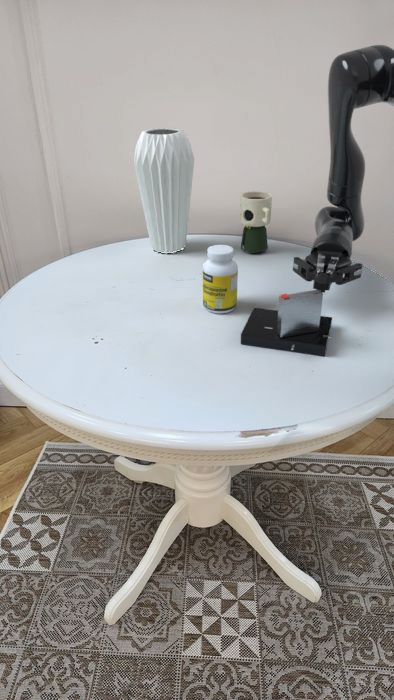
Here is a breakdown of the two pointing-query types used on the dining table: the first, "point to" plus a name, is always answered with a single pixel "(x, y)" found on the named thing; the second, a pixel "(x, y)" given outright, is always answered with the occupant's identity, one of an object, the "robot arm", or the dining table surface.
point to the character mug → (255, 220)
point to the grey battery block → (299, 313)
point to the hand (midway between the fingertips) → (321, 287)
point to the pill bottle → (220, 280)
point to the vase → (165, 185)
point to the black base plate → (264, 334)
